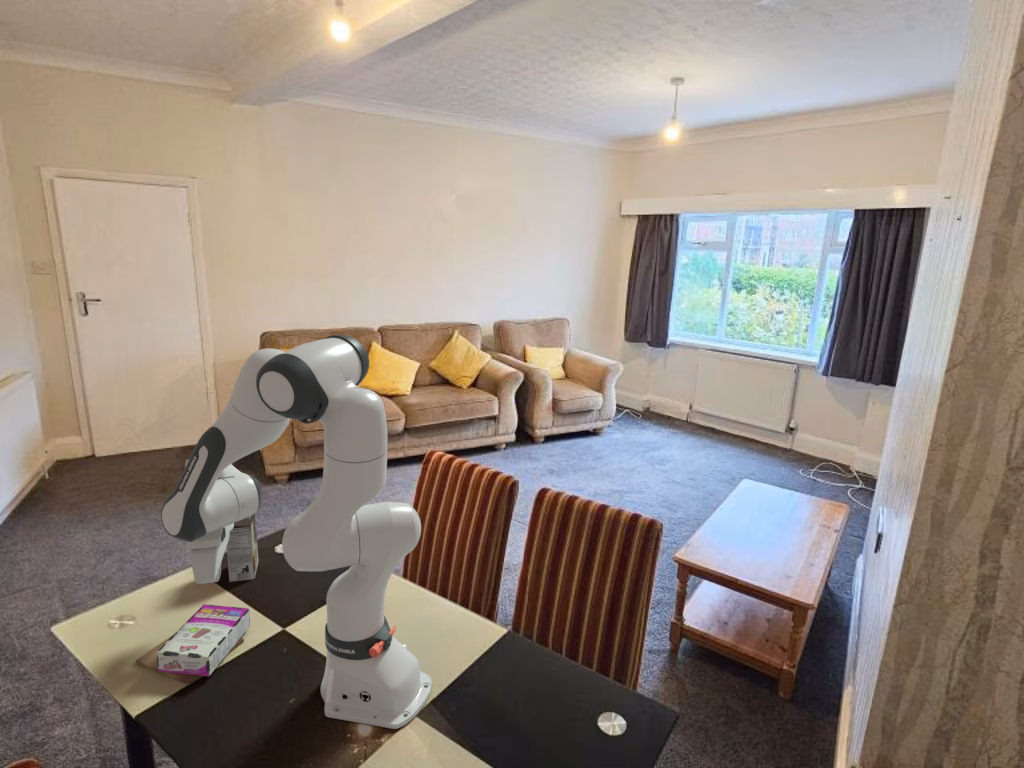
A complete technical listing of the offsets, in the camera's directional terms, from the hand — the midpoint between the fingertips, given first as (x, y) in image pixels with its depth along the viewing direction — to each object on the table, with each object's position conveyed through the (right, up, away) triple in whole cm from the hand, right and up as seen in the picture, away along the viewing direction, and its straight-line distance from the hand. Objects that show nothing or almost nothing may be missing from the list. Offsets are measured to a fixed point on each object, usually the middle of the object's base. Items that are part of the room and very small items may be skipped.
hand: (215, 578), depth 126 cm
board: (-3, -15, -4) cm, 16 cm away
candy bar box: (+1, -10, +4) cm, 11 cm away
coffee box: (-6, -8, +27) cm, 29 cm away
